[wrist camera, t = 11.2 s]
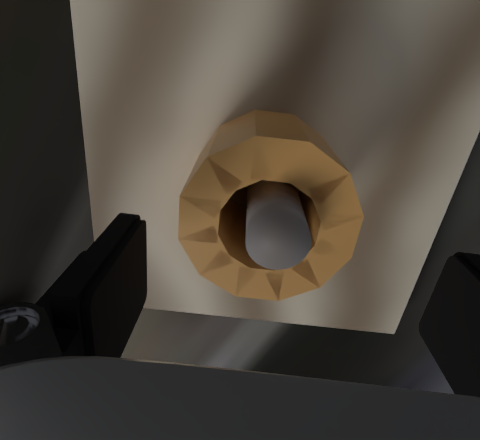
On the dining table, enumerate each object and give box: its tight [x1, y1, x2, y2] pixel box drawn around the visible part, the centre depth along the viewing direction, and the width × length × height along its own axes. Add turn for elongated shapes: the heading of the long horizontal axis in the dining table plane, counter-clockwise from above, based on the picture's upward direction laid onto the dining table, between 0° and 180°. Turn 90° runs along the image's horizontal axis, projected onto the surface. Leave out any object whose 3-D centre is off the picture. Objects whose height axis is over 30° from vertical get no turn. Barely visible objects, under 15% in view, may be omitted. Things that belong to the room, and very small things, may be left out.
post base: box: [70, 0, 480, 334], centre depth 15 cm, size 18×18×8 cm
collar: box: [178, 110, 364, 301], centre depth 15 cm, size 6×6×5 cm
